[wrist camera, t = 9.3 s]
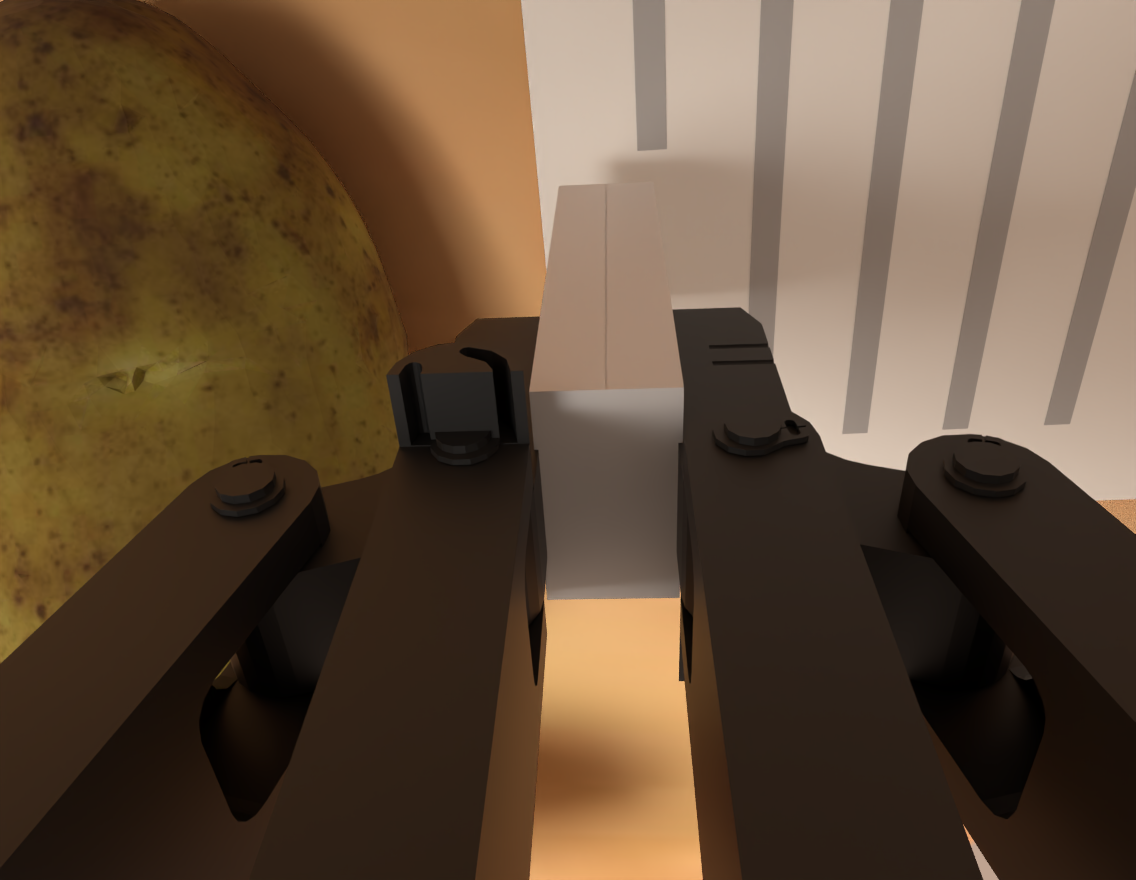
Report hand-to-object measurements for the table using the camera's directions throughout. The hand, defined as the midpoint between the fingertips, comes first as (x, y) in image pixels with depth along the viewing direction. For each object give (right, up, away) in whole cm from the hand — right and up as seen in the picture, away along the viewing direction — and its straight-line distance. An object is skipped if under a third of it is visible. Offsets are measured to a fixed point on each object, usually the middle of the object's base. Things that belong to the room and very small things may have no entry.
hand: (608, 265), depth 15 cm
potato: (-7, -1, +3) cm, 7 cm away
